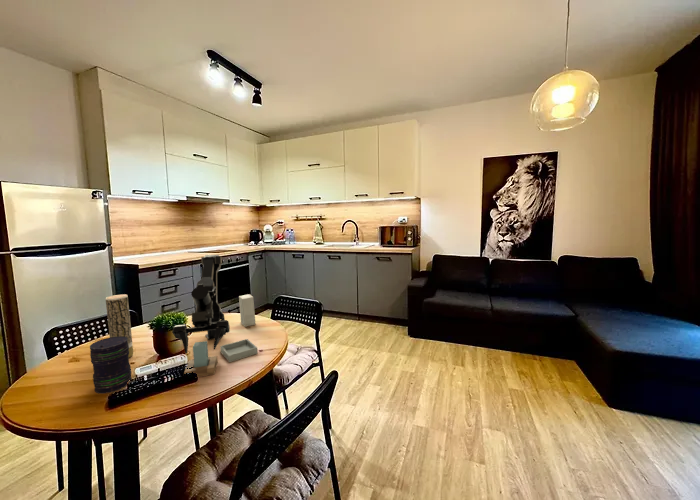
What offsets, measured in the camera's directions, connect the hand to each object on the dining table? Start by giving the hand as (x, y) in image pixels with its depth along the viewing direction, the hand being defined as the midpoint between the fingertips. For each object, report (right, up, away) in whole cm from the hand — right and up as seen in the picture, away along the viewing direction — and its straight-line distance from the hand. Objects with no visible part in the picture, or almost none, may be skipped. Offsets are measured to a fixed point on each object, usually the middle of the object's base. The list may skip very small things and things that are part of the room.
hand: (200, 351), depth 105 cm
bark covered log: (-37, -7, +12) cm, 40 cm away
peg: (0, -7, +1) cm, 8 cm away
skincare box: (0, -2, +48) cm, 48 cm away
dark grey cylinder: (-25, -9, -8) cm, 28 cm away
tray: (+8, -6, +15) cm, 18 cm away
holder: (0, -7, +1) cm, 8 cm away
